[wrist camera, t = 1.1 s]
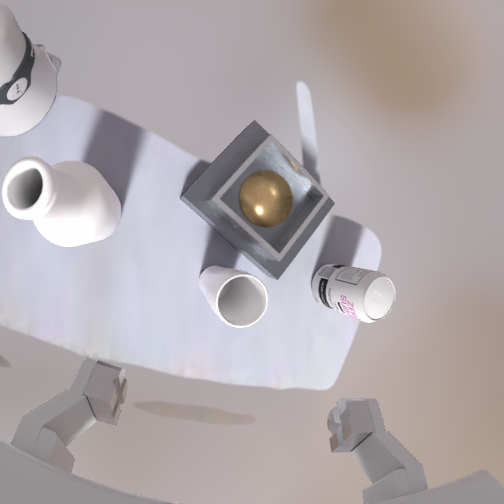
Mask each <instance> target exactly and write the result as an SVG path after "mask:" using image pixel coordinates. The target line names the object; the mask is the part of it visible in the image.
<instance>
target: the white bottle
mask: <svg viewBox="0 0 504 504" xmlns="http://www.w3.org/2000/svg"><path fill="white" fill-rule="evenodd" d="M2 198H3V202H4V205H5V207H6V209H7V210H8V211H9V213H11V214H12V215H13V216H15V217H17V218H20V219H27V220H33V221H34V223H35V225H36V227H37V229H38V230H39V231H40V233H41V234H42V235H43V236H44V237H45V238H46V239H48V240H49V241H50V242H52V243H54V244H56V245H60V246H64V247H73V246H78V245H82V244H86V243H90V242H95V241H99V240H102V239H105V238H107V237H108V236H109V235H111V234H112V233H113V232H114V231H115V229H116V228H117V226H118V224H119V222H120V218H121V204H120V201H119V198H118V197H117V195H116V193H115V192H114V191H113V190H112V188H111V187H110V186H109V184H108V183H107V182H106V180H105V179H104V178H103V176H102V175H101V174H100V173H99V172H98V170H96V169H95V168H94V167H93V166H91V165H89V164H87V163H85V162H80V161H65V162H61V163H58V164H56V165H54V166H52V167H51V166H50V165H49V164H48V163H46V162H45V161H43V160H42V159H40V158H38V157H33V156H32V157H25V158H22V159H20V160H18V161H17V162H16V163H14V164H13V165H12V167H11V168H10V169H9V171H8V172H7V174H6V176H5V178H4V182H3V186H2Z"/></svg>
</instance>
